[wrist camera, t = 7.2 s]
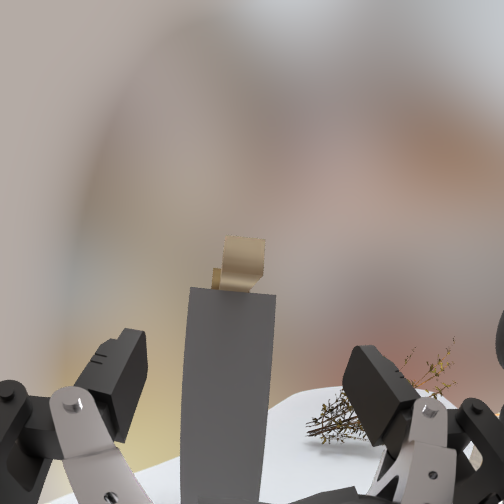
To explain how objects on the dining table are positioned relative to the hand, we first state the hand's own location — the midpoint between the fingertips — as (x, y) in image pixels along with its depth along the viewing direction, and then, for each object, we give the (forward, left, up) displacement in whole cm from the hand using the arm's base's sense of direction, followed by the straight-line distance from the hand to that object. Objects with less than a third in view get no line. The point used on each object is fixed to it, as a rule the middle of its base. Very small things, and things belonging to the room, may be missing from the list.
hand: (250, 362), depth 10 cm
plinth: (+19, -3, -29) cm, 35 cm away
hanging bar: (+16, -3, +5) cm, 17 cm away
